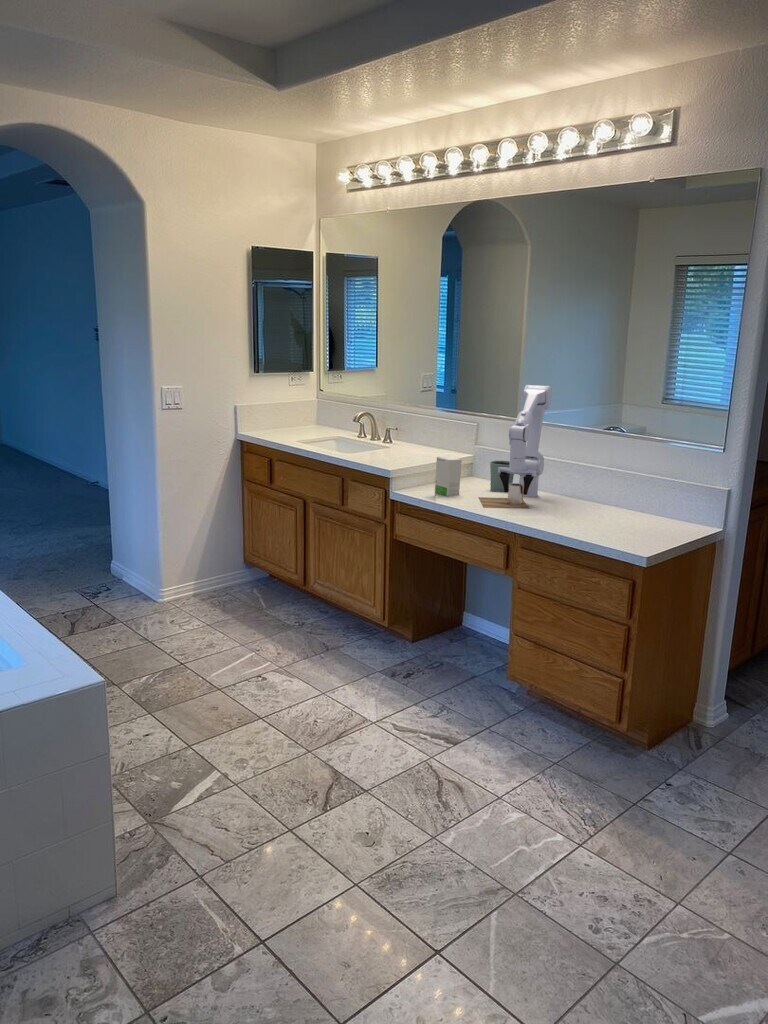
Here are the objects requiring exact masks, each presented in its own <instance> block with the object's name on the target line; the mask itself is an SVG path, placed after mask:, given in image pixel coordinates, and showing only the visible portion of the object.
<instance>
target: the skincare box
mask: <svg viewBox="0 0 768 1024" xmlns="http://www.w3.org/2000/svg"><path fill="white" fill-rule="evenodd" d="M462 461H463V459H462V458H458V457H456V456H453V455H452V456H451V455H441V456H436V461H435V462H436V463H435V464H436V465H435V466H436V467H435V479H434V480H435V481H434V496H437V495H440V496H445V497H454V496H459V495H460V487H461V485H460V484H461V473H462V472H461V471H462Z"/></svg>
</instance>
